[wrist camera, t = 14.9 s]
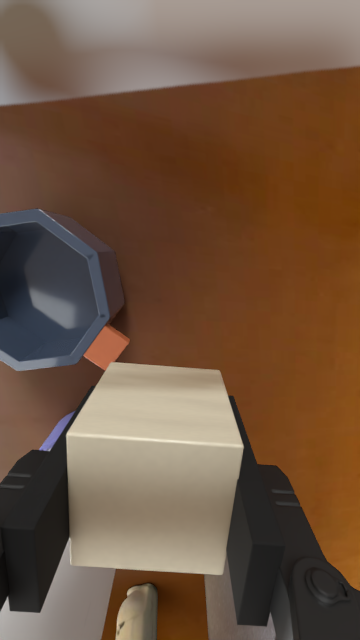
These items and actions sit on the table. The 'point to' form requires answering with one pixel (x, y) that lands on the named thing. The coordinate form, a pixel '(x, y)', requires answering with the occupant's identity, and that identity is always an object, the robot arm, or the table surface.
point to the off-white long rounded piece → (138, 614)
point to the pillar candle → (229, 612)
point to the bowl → (56, 293)
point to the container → (64, 596)
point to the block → (153, 471)
